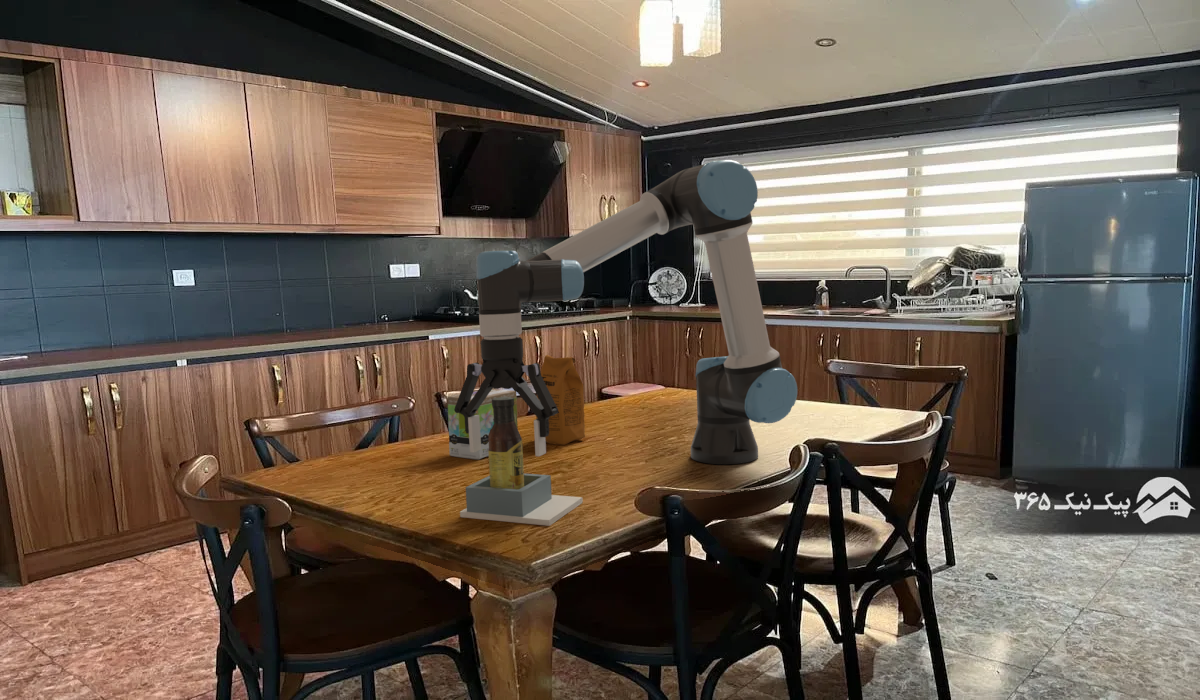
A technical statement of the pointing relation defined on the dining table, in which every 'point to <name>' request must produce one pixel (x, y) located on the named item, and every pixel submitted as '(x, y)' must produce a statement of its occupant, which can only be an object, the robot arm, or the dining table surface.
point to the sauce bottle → (505, 447)
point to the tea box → (456, 423)
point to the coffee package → (564, 400)
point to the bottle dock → (518, 502)
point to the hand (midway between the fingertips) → (507, 452)
